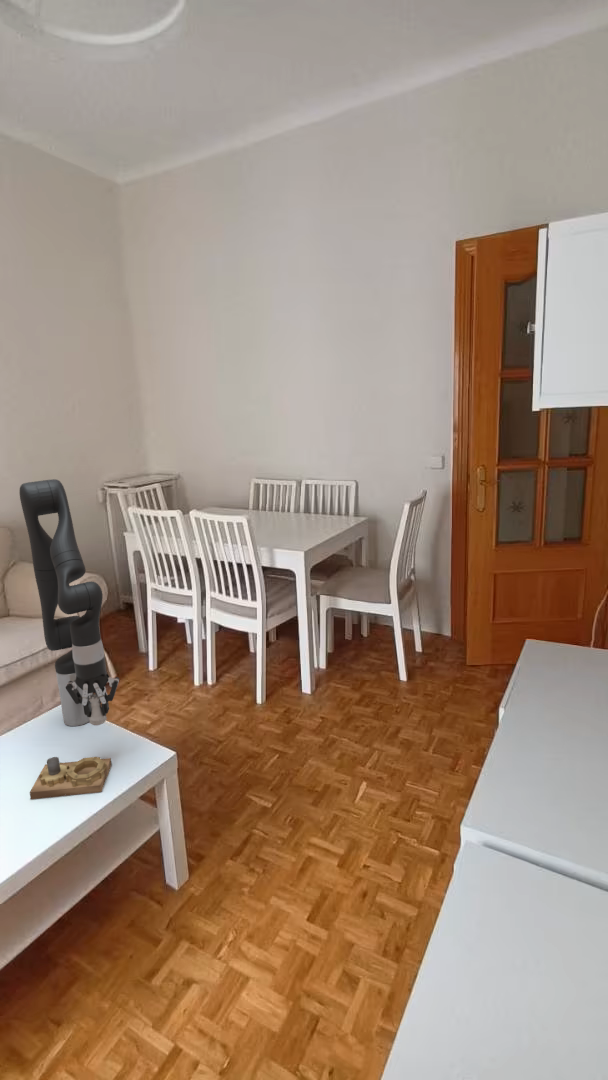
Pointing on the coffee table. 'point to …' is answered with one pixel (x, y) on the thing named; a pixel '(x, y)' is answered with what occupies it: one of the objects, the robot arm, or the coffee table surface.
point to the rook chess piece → (96, 710)
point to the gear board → (68, 785)
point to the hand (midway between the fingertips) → (97, 714)
